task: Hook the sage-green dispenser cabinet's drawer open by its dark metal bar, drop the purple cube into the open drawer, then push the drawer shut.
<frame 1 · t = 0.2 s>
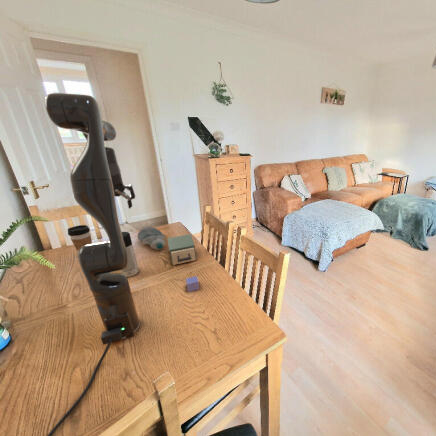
hand: (118, 209, 106), 29 cm above the table, tool pointing down, fingers open, 8 cm apart
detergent: (154, 244, 136), on the table
coffee cup: (86, 253, 124), on the table
purple cube: (193, 287, 103), on the table
drawer: (182, 253, 120), point 4 cm above the table, slide at 0.5 cm
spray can: (130, 273, 110), on the table
cabinet: (182, 255, 126), on the table
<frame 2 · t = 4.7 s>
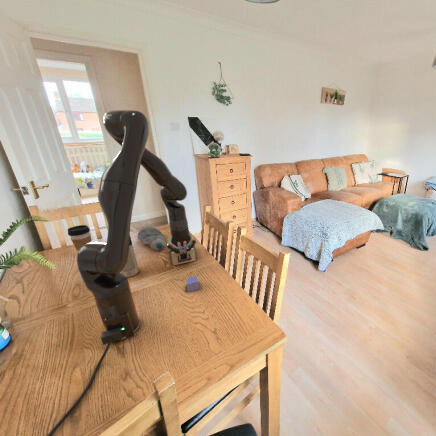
hand: (184, 259, 115), 5 cm above the table, tool pointing down, fingers closed
drawer: (182, 253, 120), point 4 cm above the table, slide at 1.0 cm
everything else where it was.
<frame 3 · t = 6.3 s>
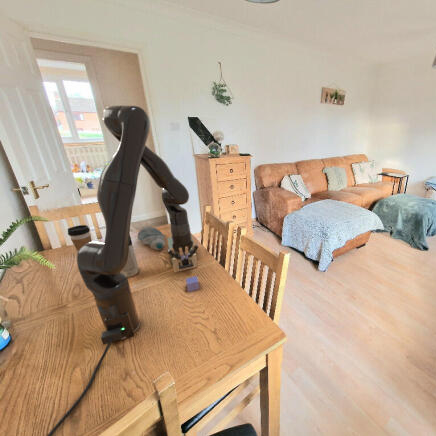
hand: (185, 265, 110), 5 cm above the table, tool pointing down, fingers closed
drawer: (184, 259, 115), point 4 cm above the table, slide at 7.0 cm
everything else where it was.
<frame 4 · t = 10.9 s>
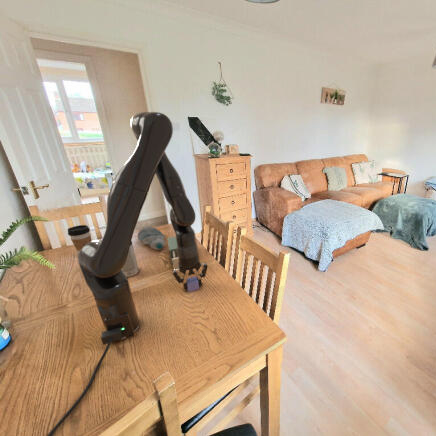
hand: (193, 286, 103), 0 cm above the table, tool pointing down, fingers closed on purple cube, 4 cm apart
purple cube: (193, 287, 103), on the table, touching gripper
everything else where it was.
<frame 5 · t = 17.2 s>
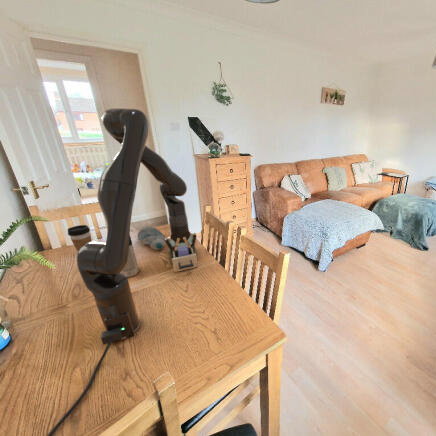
hand: (183, 254, 115), 6 cm above the table, tool pointing down, fingers closed on purple cube, 4 cm apart
purple cube: (183, 255, 115), point 6 cm above the table, touching gripper
everything else where it was.
when the fingers open (7 cm above the table, at t = 20.6 s): purple cube drops 2 cm, resting on drawer.
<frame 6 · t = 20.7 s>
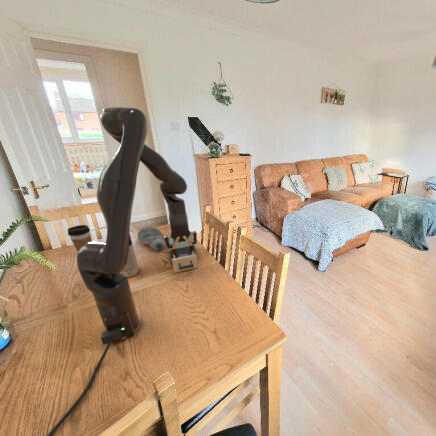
hand: (183, 253, 114), 8 cm above the table, tool pointing down, fingers open, 6 cm apart
purple cube: (184, 263, 116), point 2 cm above the table, touching drawer
drawer: (184, 259, 115), point 4 cm above the table, slide at 7.5 cm, touching gripper, purple cube
everything else where it was.
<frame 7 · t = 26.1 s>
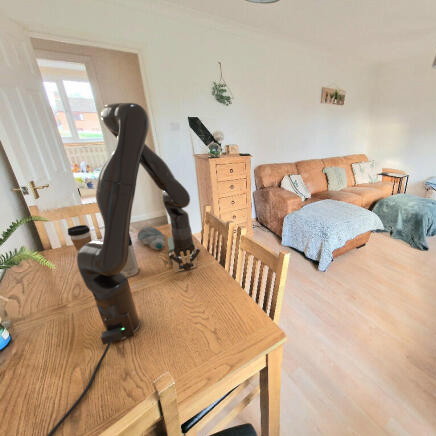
hand: (187, 269, 107), 5 cm above the table, tool pointing down, fingers closed
drawer: (184, 259, 115), point 4 cm above the table, slide at 7.0 cm, touching gripper, purple cube
everything else where it was.
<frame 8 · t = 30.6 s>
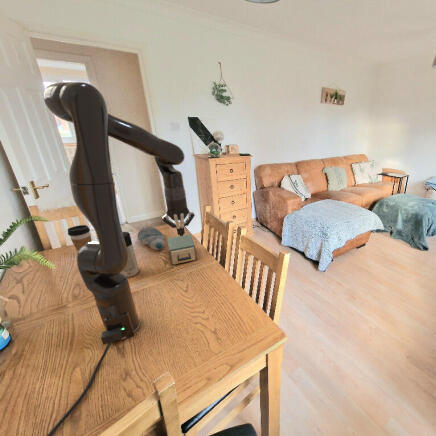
hand: (181, 235, 102), 21 cm above the table, tool pointing down, fingers closed
purple cube: (183, 255, 122), point 2 cm above the table, touching drawer
drawer: (182, 252, 121), point 4 cm above the table, slide at 0.0 cm, touching purple cube
everything else where it was.
at the end: drawer pulled out 7.6 cm at the most during the clip, back to where it started at the end; purple cube inside the target area in the cabinet (3.5 cm from its centre), point 2.0 cm above the cabinet's base; drawer slide at 0.0 cm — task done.
